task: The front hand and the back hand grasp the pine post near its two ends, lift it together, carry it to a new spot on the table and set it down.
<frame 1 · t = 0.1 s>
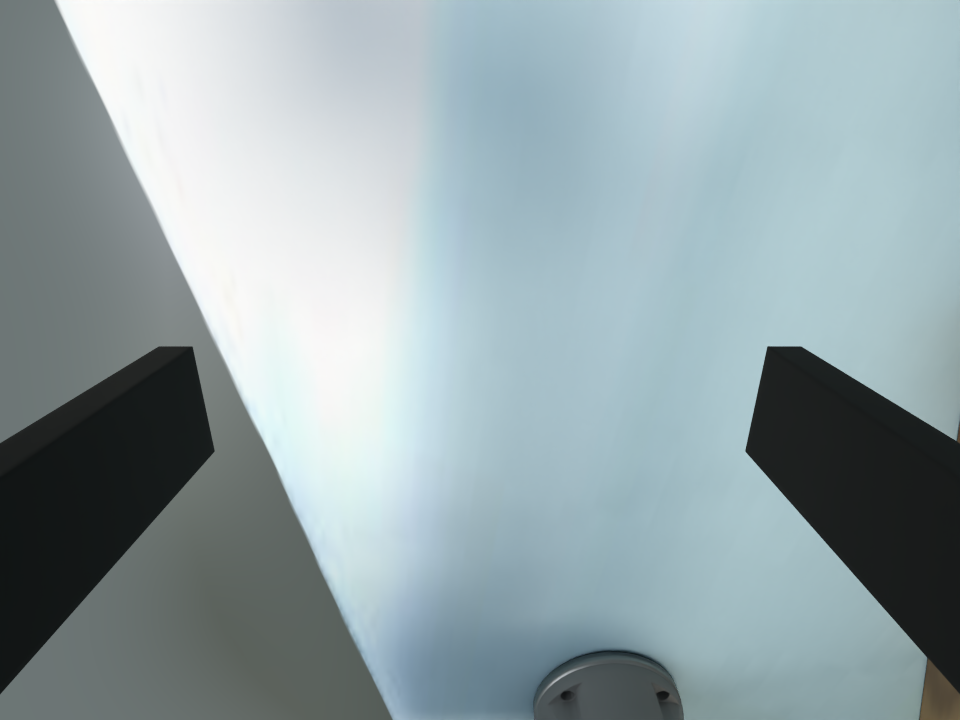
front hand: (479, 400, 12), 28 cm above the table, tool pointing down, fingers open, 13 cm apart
post: (954, 647, 54), on the table
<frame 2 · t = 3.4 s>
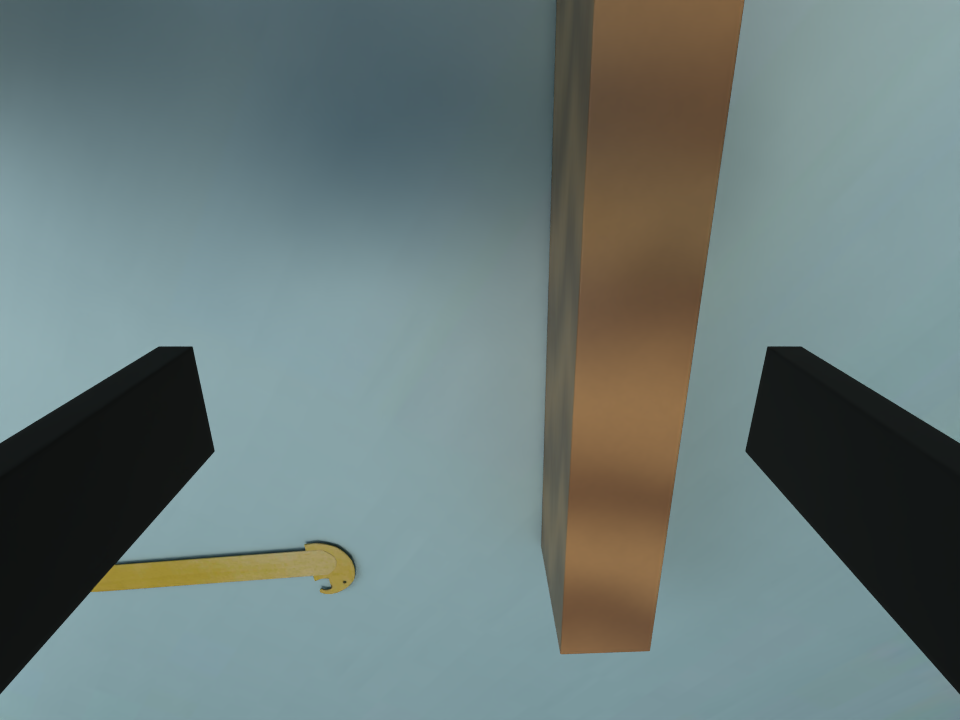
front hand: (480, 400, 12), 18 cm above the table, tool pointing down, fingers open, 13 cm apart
bottle opener: (214, 574, 38), on the table
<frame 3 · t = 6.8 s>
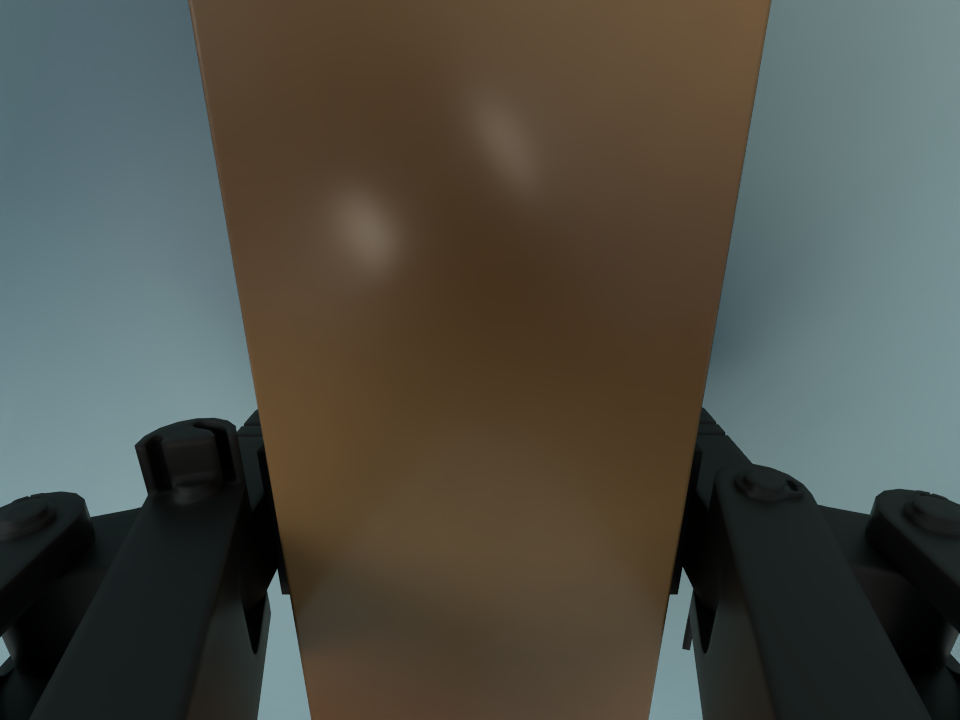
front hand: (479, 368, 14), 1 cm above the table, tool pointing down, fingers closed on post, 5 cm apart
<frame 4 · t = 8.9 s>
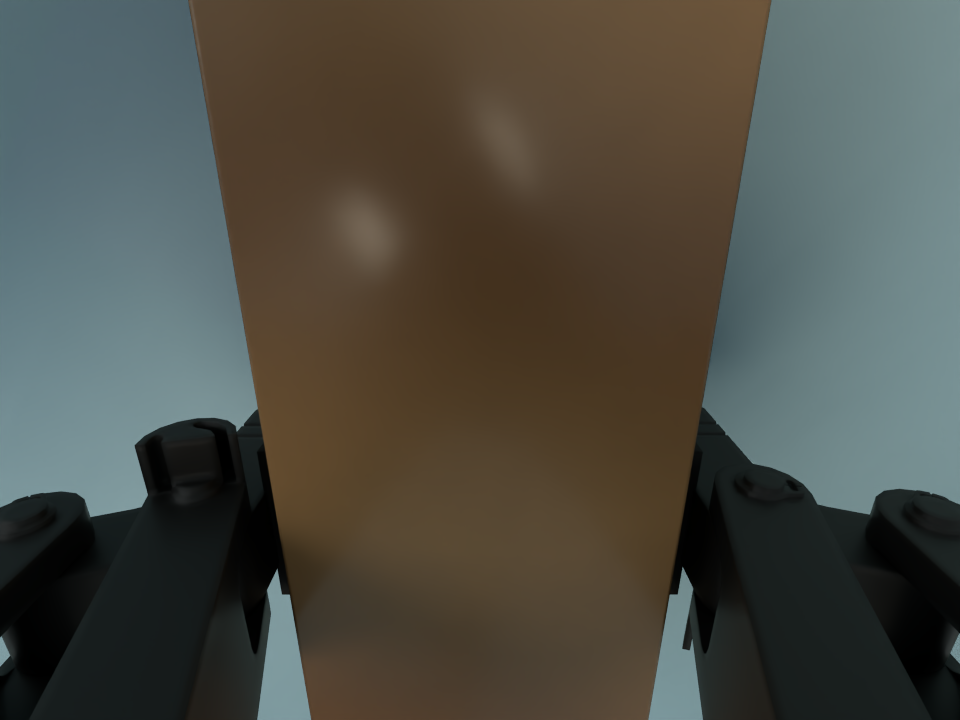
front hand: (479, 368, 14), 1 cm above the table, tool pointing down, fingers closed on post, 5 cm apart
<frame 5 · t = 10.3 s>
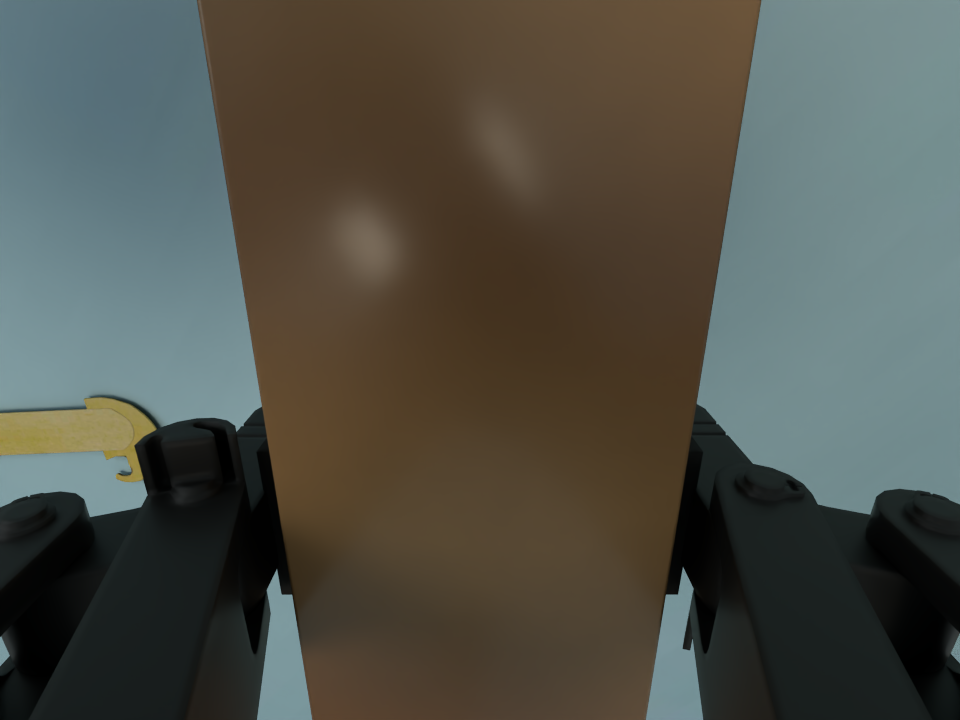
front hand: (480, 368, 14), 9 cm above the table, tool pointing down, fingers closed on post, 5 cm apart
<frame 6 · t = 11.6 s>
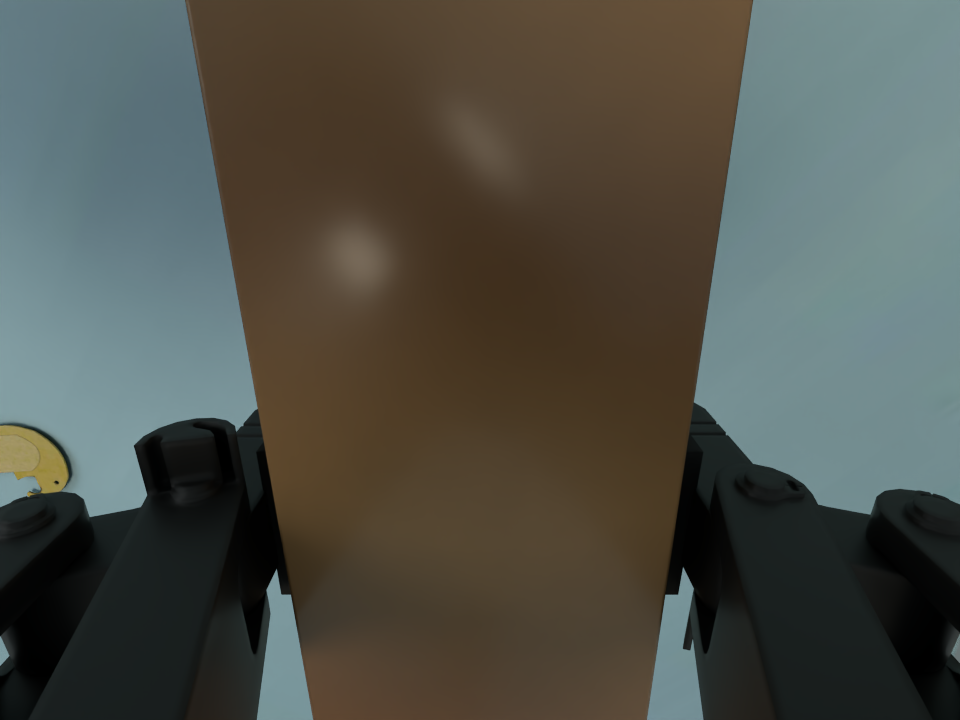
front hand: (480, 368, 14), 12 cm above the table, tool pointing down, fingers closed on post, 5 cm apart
when the front hand's fingers open (2 cm above the table, at t = 14.2 s): post drops 1 cm, on the table.
when the back hand's fingers open (5 cm above the table, at t = 14.4 s): post stays where it is, on the table.
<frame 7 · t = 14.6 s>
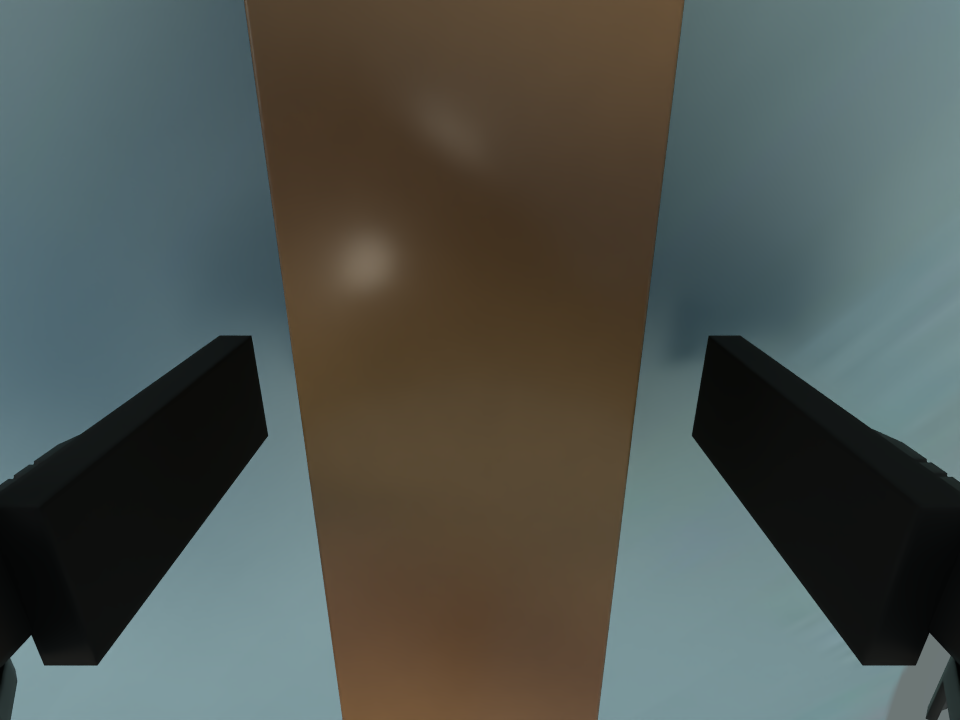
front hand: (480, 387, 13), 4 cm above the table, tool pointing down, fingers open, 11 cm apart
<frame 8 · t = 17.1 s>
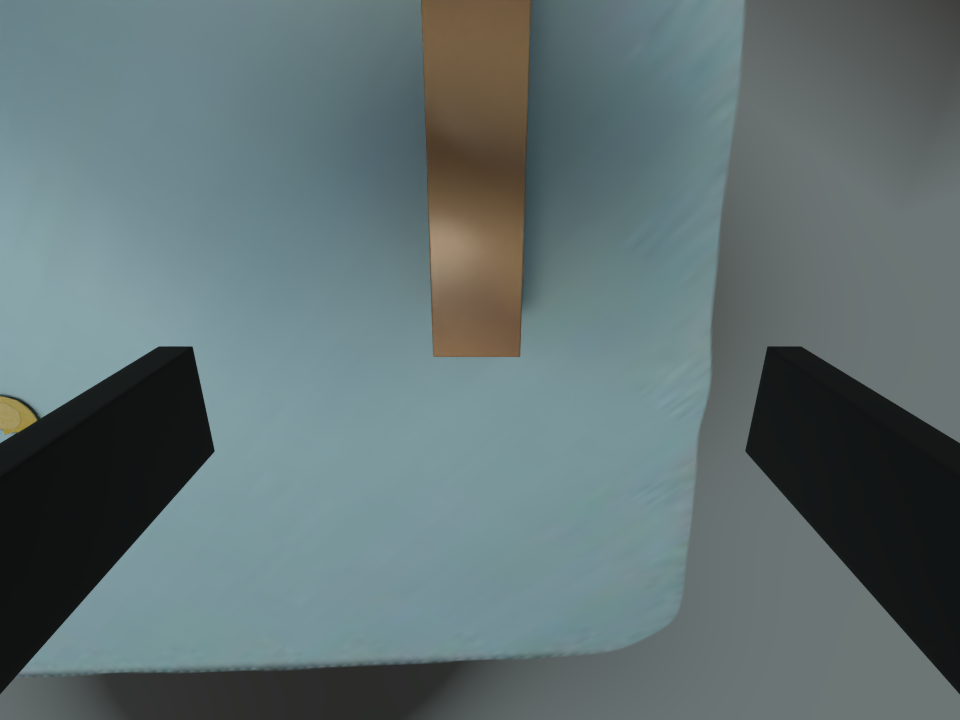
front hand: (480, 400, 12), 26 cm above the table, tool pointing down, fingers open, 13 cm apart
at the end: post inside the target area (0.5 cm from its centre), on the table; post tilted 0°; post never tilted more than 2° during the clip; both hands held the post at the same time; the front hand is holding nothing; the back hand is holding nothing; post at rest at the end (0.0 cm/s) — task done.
